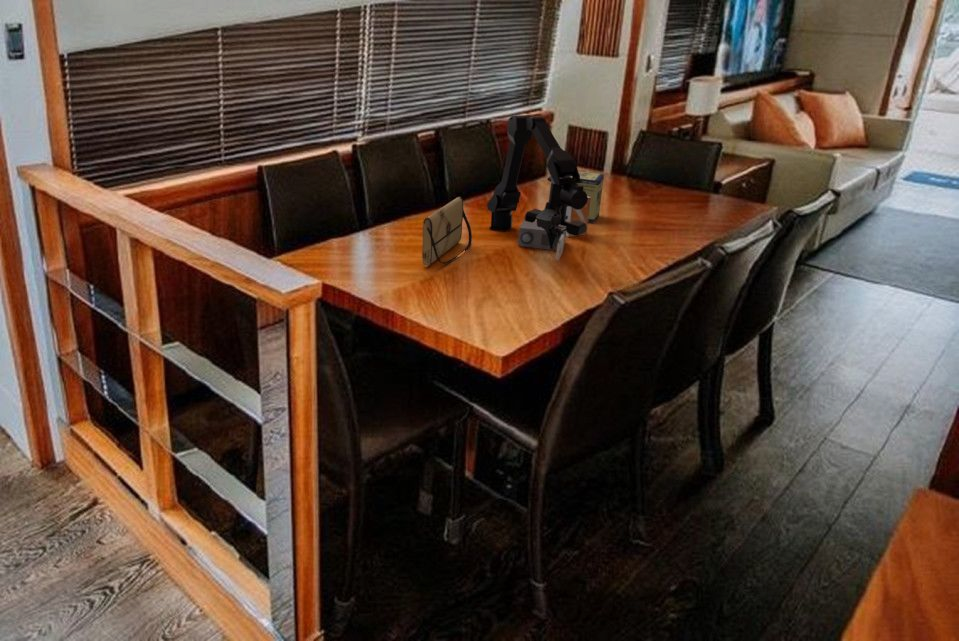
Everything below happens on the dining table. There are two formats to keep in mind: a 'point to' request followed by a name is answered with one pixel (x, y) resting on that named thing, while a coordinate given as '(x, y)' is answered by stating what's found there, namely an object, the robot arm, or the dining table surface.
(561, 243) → the side door
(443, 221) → the clutch purse
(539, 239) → the camera block
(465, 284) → the dining table surface
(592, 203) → the protein box
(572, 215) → the small box
